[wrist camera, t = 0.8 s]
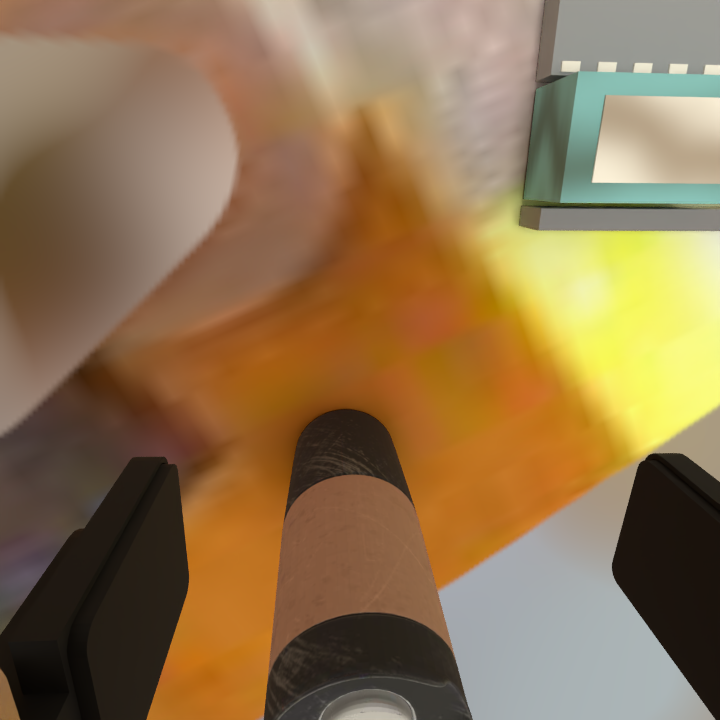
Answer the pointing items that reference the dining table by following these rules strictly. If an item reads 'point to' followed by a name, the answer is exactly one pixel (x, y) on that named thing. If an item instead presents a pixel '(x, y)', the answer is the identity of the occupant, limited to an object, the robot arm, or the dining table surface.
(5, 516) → the dining table surface
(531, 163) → the teal rectangular box
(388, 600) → the travel mug
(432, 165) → the dining table surface
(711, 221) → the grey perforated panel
